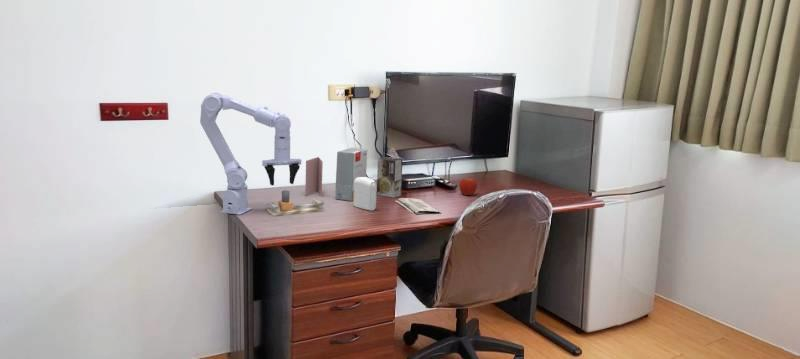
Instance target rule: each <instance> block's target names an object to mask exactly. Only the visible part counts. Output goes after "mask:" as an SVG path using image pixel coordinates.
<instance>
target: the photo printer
mask: <svg viewBox="0 0 800 359" xmlns="http://www.w3.org/2000/svg"><path fill="white" fill-rule="evenodd" d="M352 201H353V207H355V208H359V209H363V210H367V211H375V209H377V208H376V207H377V181H375V180H374V179H372V178H370V177H367V176H366V177H358V178H356V179H355V180H354V196H353V200H352Z"/></svg>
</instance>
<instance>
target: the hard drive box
mask: <svg viewBox="0 0 800 359" xmlns="http://www.w3.org/2000/svg"><path fill="white" fill-rule="evenodd" d="M367 163H368V148H358V147H349V148H346V149H343V150H338V151H337V152H336V173H335V191H334V192H335V193H334V198H335V200H341V201H348V202H351V201H353V196H354V180H355V179H356V178H358V177H367Z"/></svg>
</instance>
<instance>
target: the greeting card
mask: <svg viewBox="0 0 800 359" xmlns="http://www.w3.org/2000/svg"><path fill="white" fill-rule="evenodd" d="M323 165H324V164H323V161H322V159H321V158H320V157H319V156H318V157H315V158H314V157H313V158H311V159H307V160H305V189H304V190H305V192H304V193H305V194H304V195H305V197H306V196H307V197H308V196H309V195H312V194H314V193H316V192H317V193H318V194H319V195H320V197H321V198H322V196H323Z"/></svg>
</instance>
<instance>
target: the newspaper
mask: <svg viewBox="0 0 800 359" xmlns="http://www.w3.org/2000/svg"><path fill="white" fill-rule="evenodd" d="M395 203H397V204H399V205H401V206H402V207H403V208H405V209H407V211H409V212H410V213H413V214H415V213H416V214H415V215H425V214H424V213H425V212H434V213H438V212H439V214H440V212H441V211H440V210H438V209H437V208H435V207H433V206H432V205H430V204H429V203H427V202H426V201H424V200H423V199H421V198H420V199H419V198H412V197H409V198H408V197H406V198H405V197H401V198H398V199H397V200H395ZM421 211H422V212H421ZM414 212H415V213H414ZM423 212H424V213H423Z"/></svg>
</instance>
